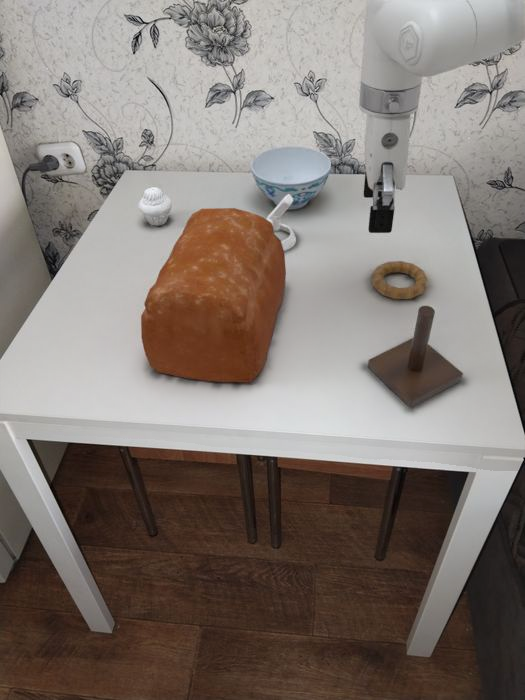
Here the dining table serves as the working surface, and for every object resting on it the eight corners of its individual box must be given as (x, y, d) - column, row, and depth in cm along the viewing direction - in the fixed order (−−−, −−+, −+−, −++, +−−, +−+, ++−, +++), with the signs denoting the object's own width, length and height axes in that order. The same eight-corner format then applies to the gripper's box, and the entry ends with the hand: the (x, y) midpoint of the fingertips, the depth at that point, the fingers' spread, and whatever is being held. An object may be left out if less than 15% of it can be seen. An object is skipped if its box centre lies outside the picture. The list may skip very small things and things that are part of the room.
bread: (289, 281, 98) (289, 201, 87) (259, 389, 81) (255, 305, 70) (190, 271, 100) (179, 193, 90) (141, 374, 83) (120, 292, 73)
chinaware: (329, 182, 121) (331, 146, 115) (328, 222, 110) (330, 184, 104) (257, 181, 122) (255, 145, 117) (248, 220, 111) (246, 183, 106)
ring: (438, 288, 95) (440, 279, 93) (395, 308, 92) (397, 299, 90) (401, 261, 100) (403, 253, 99) (360, 279, 97) (361, 270, 96)
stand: (461, 380, 80) (479, 317, 72) (410, 408, 77) (424, 345, 69) (416, 342, 86) (428, 279, 78) (367, 367, 83) (375, 304, 75)
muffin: (149, 211, 115) (143, 178, 110) (178, 214, 114) (173, 181, 109) (136, 228, 111) (129, 194, 106) (166, 232, 109) (160, 198, 104)
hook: (311, 238, 97) (275, 214, 95) (276, 270, 107) (244, 249, 105) (323, 207, 101) (289, 183, 99) (289, 241, 111) (258, 220, 109)
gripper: (429, 123, 68) (410, 246, 80) (410, 70, 81) (396, 184, 93) (364, 124, 69) (354, 247, 81) (355, 71, 81) (348, 185, 93)
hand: (376, 213), depth 87 cm, fingers open, 9 cm apart
